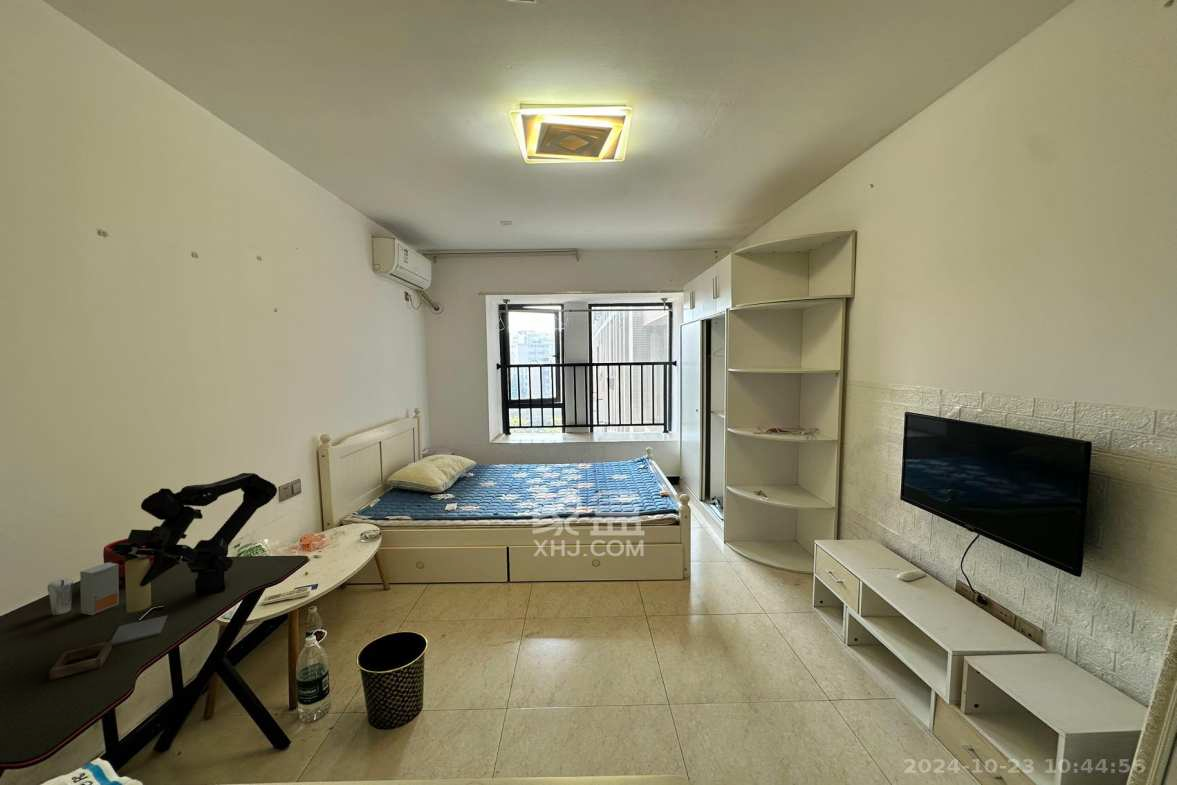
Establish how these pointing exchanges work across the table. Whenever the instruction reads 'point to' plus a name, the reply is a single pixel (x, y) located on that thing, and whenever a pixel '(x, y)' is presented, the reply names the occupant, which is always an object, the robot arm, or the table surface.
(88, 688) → the table surface
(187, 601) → the table surface
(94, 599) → the skincare box
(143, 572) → the wooden shaft
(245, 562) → the table surface
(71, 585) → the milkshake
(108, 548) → the plant pot
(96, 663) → the walnut socket
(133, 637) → the slate mat
